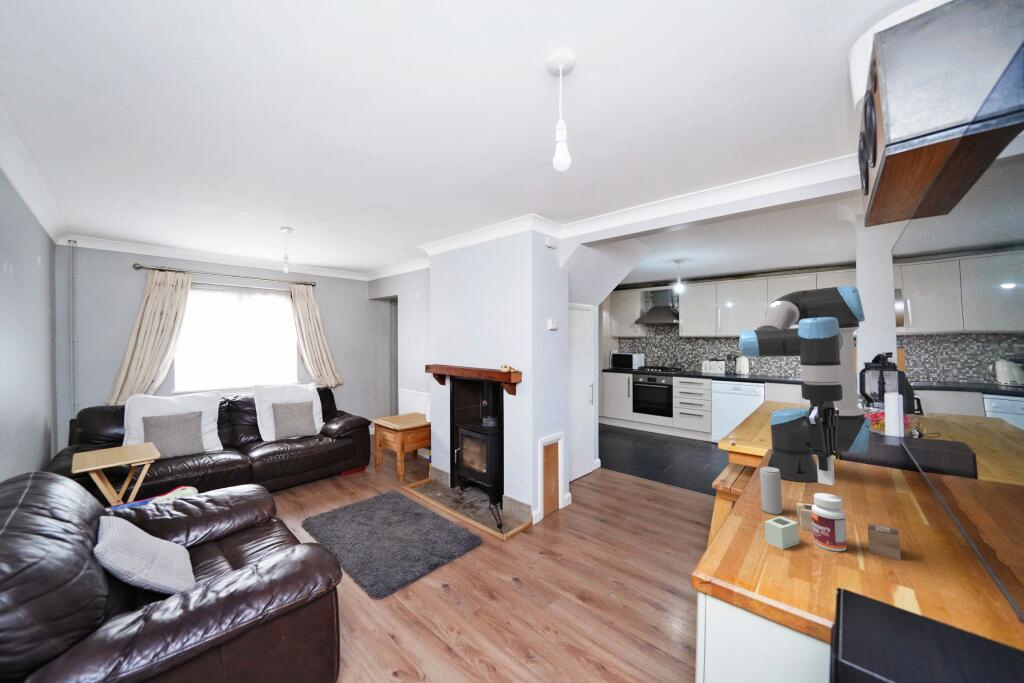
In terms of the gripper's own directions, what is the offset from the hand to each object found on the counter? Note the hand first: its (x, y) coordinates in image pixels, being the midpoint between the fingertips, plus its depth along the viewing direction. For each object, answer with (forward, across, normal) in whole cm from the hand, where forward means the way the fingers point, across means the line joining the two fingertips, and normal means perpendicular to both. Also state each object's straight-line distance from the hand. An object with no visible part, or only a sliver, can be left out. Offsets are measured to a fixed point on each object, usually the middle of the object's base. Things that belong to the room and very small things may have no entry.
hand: (826, 483), depth 90 cm
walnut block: (+15, -6, +8) cm, 18 cm away
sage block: (+15, +7, -7) cm, 18 cm away
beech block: (+15, -7, -6) cm, 17 cm away
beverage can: (+15, -9, -16) cm, 24 cm away
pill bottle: (+15, 0, 0) cm, 15 cm away
